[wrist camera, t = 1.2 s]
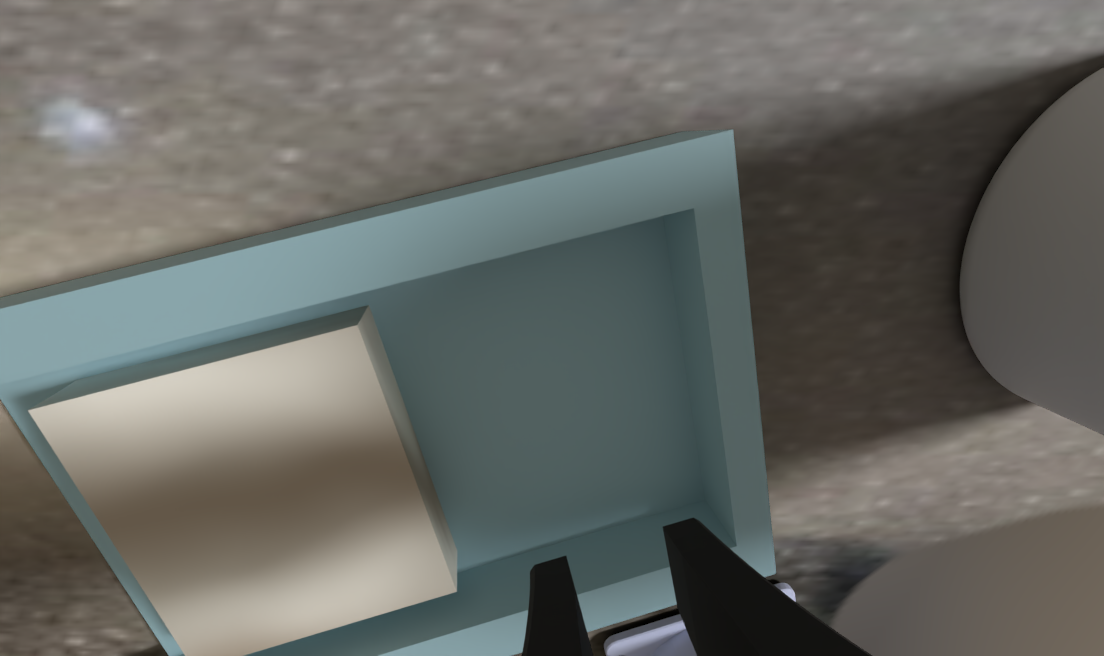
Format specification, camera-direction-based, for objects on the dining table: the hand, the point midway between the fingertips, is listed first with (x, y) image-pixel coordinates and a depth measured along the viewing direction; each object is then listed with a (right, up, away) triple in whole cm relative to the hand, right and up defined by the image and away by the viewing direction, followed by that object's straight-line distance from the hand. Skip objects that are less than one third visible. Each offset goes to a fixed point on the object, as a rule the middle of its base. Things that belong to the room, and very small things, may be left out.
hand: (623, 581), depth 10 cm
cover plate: (-9, 0, +7) cm, 11 cm away
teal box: (-6, +2, +8) cm, 10 cm away
